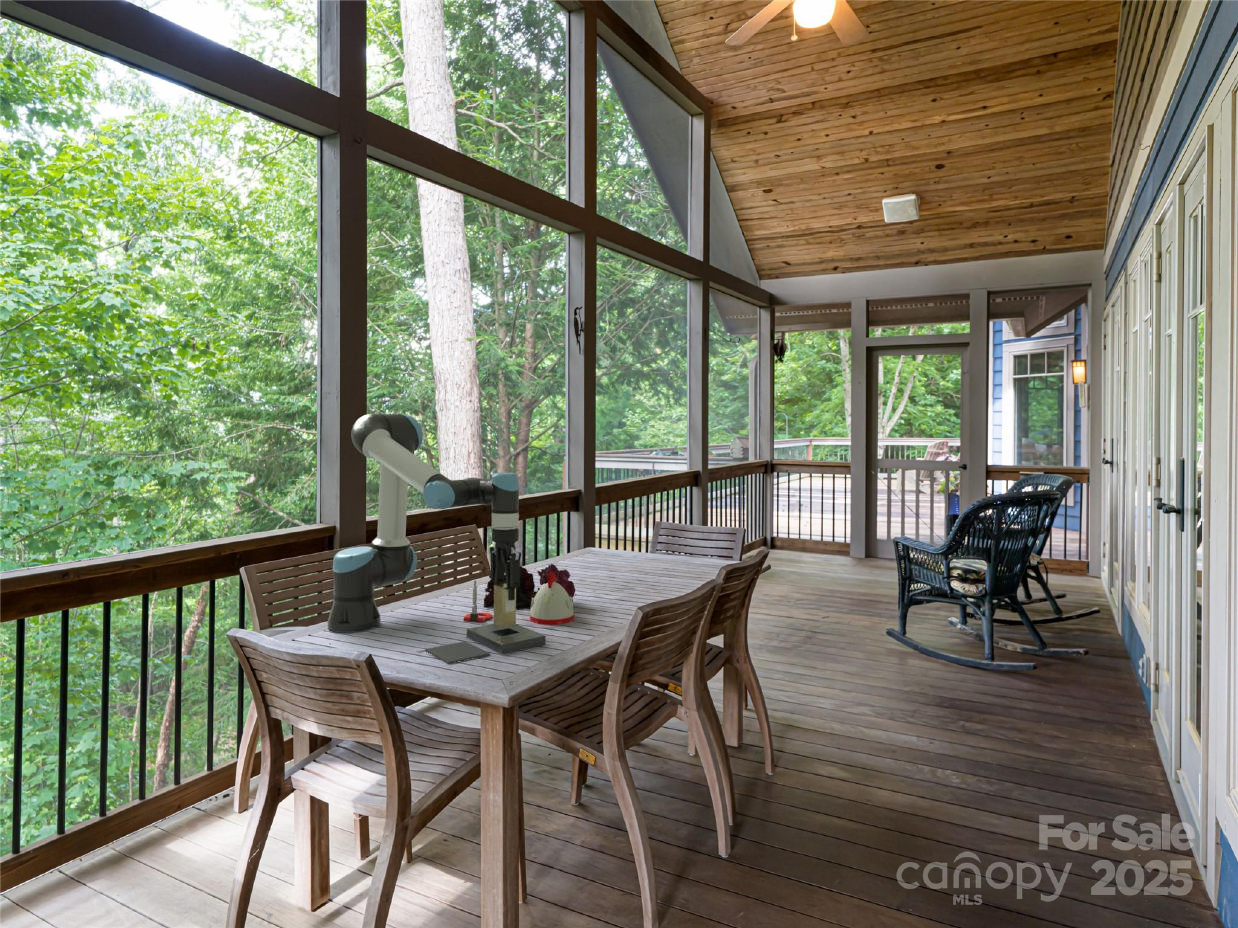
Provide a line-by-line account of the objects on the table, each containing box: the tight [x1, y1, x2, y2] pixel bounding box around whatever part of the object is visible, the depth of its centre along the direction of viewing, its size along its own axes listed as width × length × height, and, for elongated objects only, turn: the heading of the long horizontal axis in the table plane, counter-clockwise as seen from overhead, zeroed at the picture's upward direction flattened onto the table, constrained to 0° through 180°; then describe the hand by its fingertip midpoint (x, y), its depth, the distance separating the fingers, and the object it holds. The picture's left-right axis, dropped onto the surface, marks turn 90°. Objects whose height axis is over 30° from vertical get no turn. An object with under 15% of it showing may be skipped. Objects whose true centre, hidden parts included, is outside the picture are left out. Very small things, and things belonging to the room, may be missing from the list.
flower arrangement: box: [483, 563, 576, 610], centre depth 247 cm, size 31×20×15 cm, turn 79°
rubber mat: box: [424, 640, 491, 665], centre depth 194 cm, size 14×12×1 cm
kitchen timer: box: [529, 572, 575, 626], centre depth 229 cm, size 14×14×15 cm
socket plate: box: [466, 623, 547, 655], centre depth 205 cm, size 20×14×2 cm
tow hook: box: [463, 579, 493, 623], centre depth 230 cm, size 8×13×9 cm
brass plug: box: [493, 584, 517, 627], centre depth 205 cm, size 4×4×11 cm
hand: (504, 609), depth 205 cm, fingers closed on brass plug, 4 cm apart
